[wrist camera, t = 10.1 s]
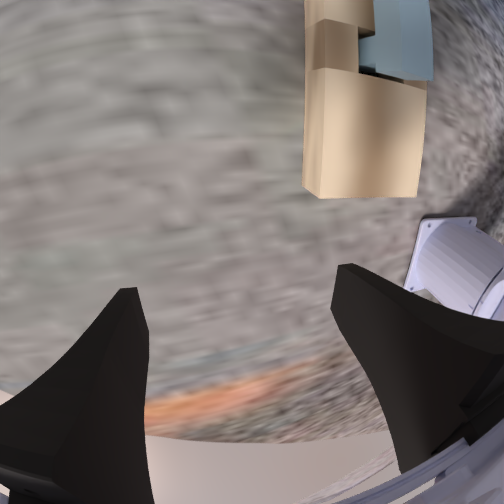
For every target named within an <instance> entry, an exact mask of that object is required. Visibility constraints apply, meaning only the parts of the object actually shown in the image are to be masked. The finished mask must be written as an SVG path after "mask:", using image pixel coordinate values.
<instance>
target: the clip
mask: <svg viewBox="0 0 504 504" xmlns="http://www.w3.org/2000/svg"><path fill="white" fill-rule="evenodd" d="M373 5H374V19H375V36H371V37H367V38H363V39H359V40H358V55H359V71H364V72H369V73H382V74H386V75H390V76H393V77H397V78H401V79H404V80H419V81H433V40H432V26H431V16H430V7H429V0H373Z"/></svg>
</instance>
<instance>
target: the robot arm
mask: <svg viewBox="0 0 504 504" xmlns="http://www.w3.org/2000/svg"><path fill="white" fill-rule="evenodd" d="M476 223H477V218H476V217H450V218H429V219H423V220H422V221H421V223H420V227H419V232H418V236H417V240H416V244H415V248H414V252H413V256H412V260H411V263H410V267H409V270H408V274H407V277H406V281H405V284H404V287H403V288H402V287H400V286H398V285H396V284H394V283H392V282H390V281H388V280H386V279H384V278H382V277H380V276H379V275H377V274H375V273H373V272H371V271H369V270H367V269H365V268H363V267H360V266H358V265H356V264H353V263H350V264H342V265H338V269H337V275H336V281H335V287H334V292H333V298H332V303H331V308H330V309H331V311H332V314H333V316H334V318H335V321H336V323H337V325H338V327H339V330H340V331H341V333H342V335H343V336H344V338H345V340H346V341H347V343H348V345H349V346H350V348H351V349H352V351H353V353H354V354H355V356H356V357H357V359H358V361H359V362H360V364H361V366H362V367H363V369H364V371H365V372H366V374H367V376H368V378H369V380H370V382H371V384H372V386H373V388H374V391H375V393H376V395H377V397H378V400H379V402H380V405H381V407H382V410H383V413H384V415H385V418H386V421H387V424H388V427H389V430H390V433H391V436H392V440H393V444H394V448H395V452H396V456H397V460H398V465H399V470H400V472H401V474H402V475H400V476H398V477H396V478H394V479H392V480H389V481H388V482H385V483H383V484H381V485H379V486H376V487H374V488H372V489H370V490H367V491H365V492H362V493H360V494H357V495H355V496H352V497H350V498H347V499H344V500H342V501H339V502H336V503H333V504H388V503H390V502H392V501H394V500H396V499H398V498H400V497H402V496H404V495H405V494H407V493H409V492H411V491H413V490H414V489H416V488H418V487H420V486H421V485H423V484H425V483H426V482H428V481H430V480H431V479H433V478H435V477H436V476H437V477H436V479H435V484H434V485H433V486H432V487H430V488H429V489H427V490H426V491H424V492H422V493H420V494H419V495H417V496H416V497H414V498H412V499H411V500H409V501H407V502H405V503H404V504H504V245H503V244H501V243H500V242H498V241H497V240H495V239H494V238H492V237H491V236H489V235H488V234H486V233H485V232H483V231H482V230H480V229H478V228H477V227H476ZM425 288H426V289H427V290H428V291H429V292H430V293H431V294H433V295H434V296H435V297H436V298H437V299H438V300H439V301H440V302H441V303H442V304H443V305H444V306H442V305H439V304H437V303H434V302H432V301H429V300H427V299H425V298H423V297H420V296H418V295H416V294H414V293H412V292H413V291H417V290H421V289H425ZM148 363H149V330H148V327H147V323H146V320H145V316H144V313H143V309H142V305H141V302H140V298H139V294H138V290H137V287H133V288H121V289H119V291H118V292H117V293H116V294H115V295H114V297H113V298H112V299H111V300H110V302H109V303H108V304H107V305H106V307H105V308H104V309H103V310H102V312H101V313H100V314H99V315H98V317H97V318H96V319H95V320H94V322H93V323H92V324H91V325H90V326H89V328H88V329H87V330H86V331H85V332H84V333H83V334H82V336H81V337H80V338H79V339H78V340H77V341H76V343H75V344H74V345H73V346H72V347H71V348H70V349H69V350H68V351H67V352H66V353H65V354H64V355H63V356H62V357H61V358H60V359H59V360H58V361H57V362H56V363H55V364H54V365H53V366H52V367H51V368H50V369H48V370H47V371H46V372H45V373H44V374H42V375H41V376H40V377H39V378H38V379H37V380H35V381H34V382H33V383H32V384H31V385H29V386H28V387H27V388H25V389H24V390H23V391H21V392H20V393H19V394H17V395H16V396H14V397H13V398H11V399H10V400H8V401H7V402H5V403H4V404H2V405H0V484H2V485H3V486H5V487H7V488H8V489H10V492H9V497H8V496H6V495H4V494H2V493H0V504H155V503H154V499H153V494H152V489H151V483H150V477H149V471H148V463H147V455H146V444H145V430H144V406H145V394H146V383H147V373H148Z"/></svg>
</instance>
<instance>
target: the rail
mask: <svg viewBox="0 0 504 504" xmlns="http://www.w3.org/2000/svg"><path fill="white" fill-rule="evenodd" d="M304 9H305V118H304V148H303V171H302V186H303V187H305V188H306V189H307V190H309V191H310V192H311V193H313V194H314V195H315V196H317V197H318V198H319V199H323V198H359V197H416V194H417V188H418V181H419V175H420V168H421V160H422V152H423V142H424V132H425V118H426V100H427V81H419V80H404V79H401V78H397V77H393V76H390V75H386V74H382V73H378V77H374V76H369V75H365V74H360V73H359V55H358V40H359V39H363V38H367V37H371V36H375V19H374V5H373V0H304Z"/></svg>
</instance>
